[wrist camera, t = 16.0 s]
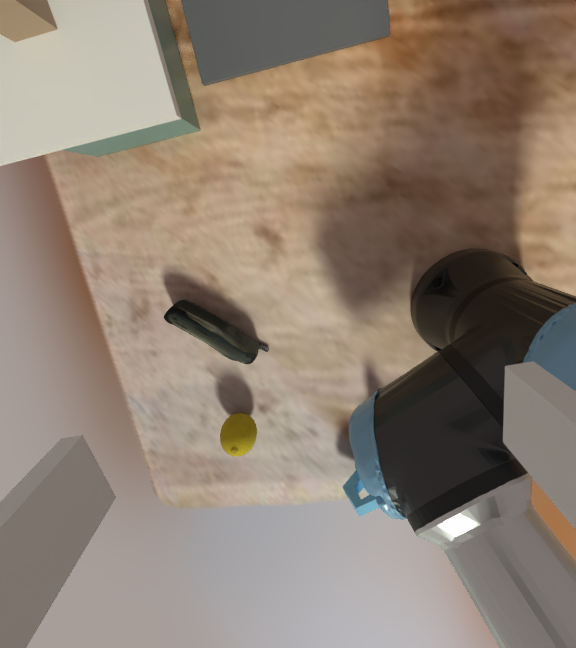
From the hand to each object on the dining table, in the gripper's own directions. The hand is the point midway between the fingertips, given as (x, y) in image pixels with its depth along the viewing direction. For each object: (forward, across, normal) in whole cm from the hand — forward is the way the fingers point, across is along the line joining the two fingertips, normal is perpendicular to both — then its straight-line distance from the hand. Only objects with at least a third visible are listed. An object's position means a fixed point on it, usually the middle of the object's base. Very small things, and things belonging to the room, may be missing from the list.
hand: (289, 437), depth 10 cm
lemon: (+37, +14, +25) cm, 47 cm away
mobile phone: (+37, +13, +9) cm, 40 cm away
